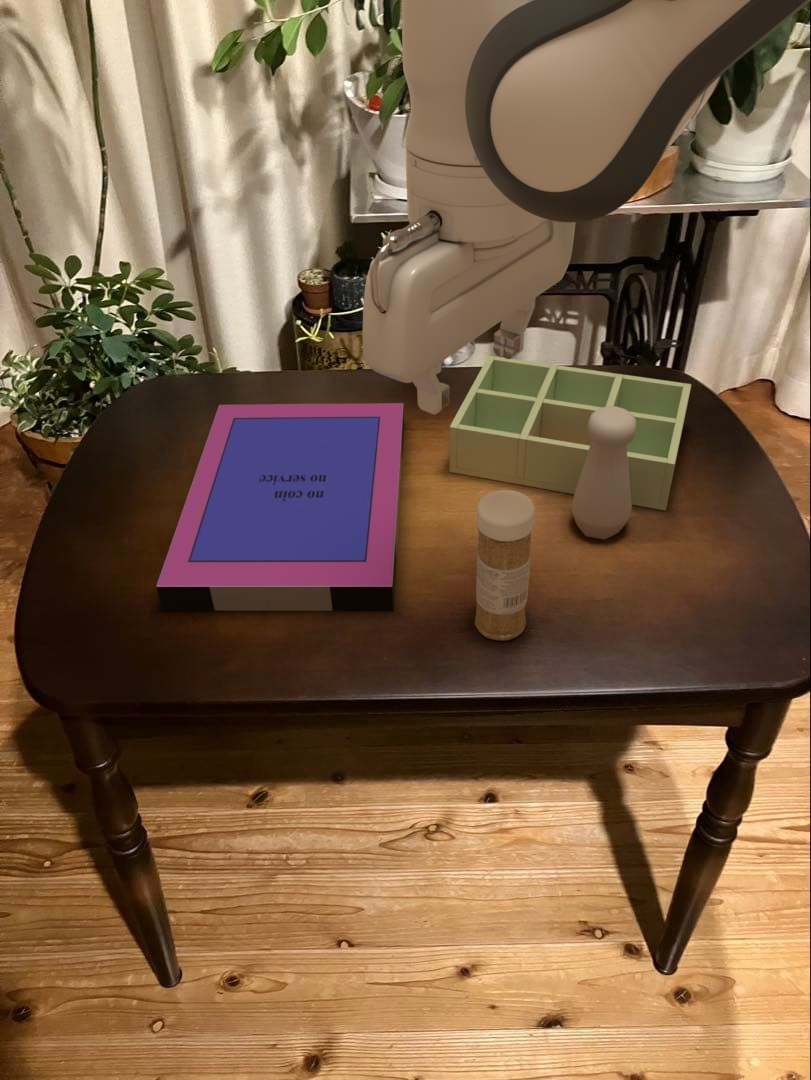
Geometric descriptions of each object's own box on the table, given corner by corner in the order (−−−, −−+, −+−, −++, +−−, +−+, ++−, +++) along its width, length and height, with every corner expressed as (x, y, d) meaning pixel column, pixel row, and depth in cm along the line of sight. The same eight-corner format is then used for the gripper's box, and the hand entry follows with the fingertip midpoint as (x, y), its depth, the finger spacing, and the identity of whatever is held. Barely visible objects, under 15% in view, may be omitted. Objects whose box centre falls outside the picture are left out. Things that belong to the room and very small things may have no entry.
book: (403, 403, 103) (392, 586, 80) (404, 425, 105) (393, 610, 82) (219, 404, 104) (156, 586, 81) (223, 426, 106) (163, 610, 83)
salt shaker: (626, 509, 92) (644, 398, 83) (631, 546, 88) (650, 433, 79) (567, 506, 92) (579, 396, 84) (569, 543, 88) (582, 431, 80)
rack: (682, 428, 102) (691, 383, 99) (665, 510, 92) (674, 464, 88) (487, 398, 109) (488, 355, 105) (449, 472, 98) (449, 426, 94)
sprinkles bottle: (515, 602, 82) (523, 483, 74) (533, 637, 79) (544, 517, 70) (467, 612, 82) (469, 492, 73) (482, 648, 78) (487, 527, 69)
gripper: (414, 257, 51) (419, 461, 60) (598, 155, 62) (579, 337, 71) (329, 232, 54) (347, 429, 63) (520, 139, 66) (512, 316, 75)
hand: (472, 379), depth 67 cm, fingers open, 8 cm apart
